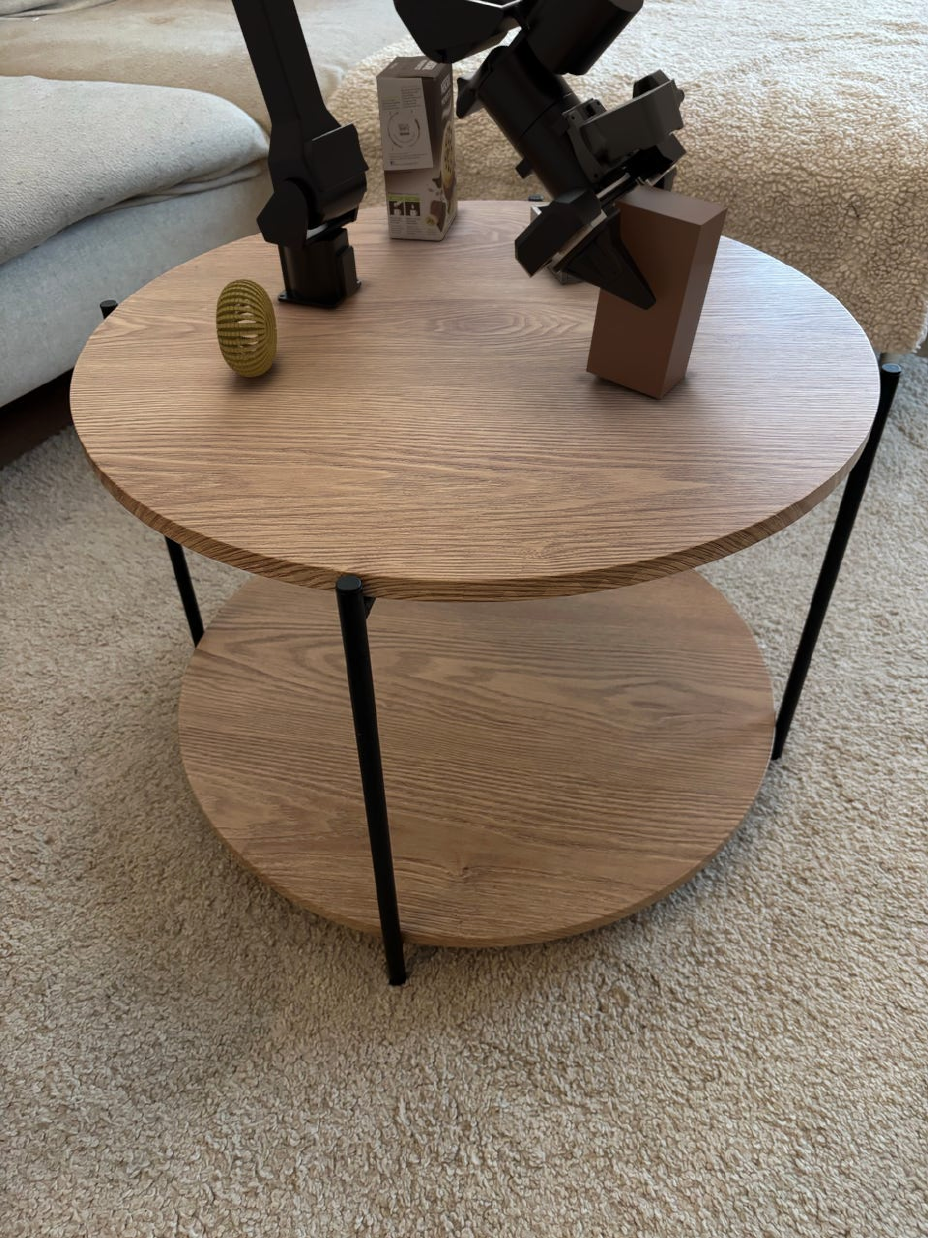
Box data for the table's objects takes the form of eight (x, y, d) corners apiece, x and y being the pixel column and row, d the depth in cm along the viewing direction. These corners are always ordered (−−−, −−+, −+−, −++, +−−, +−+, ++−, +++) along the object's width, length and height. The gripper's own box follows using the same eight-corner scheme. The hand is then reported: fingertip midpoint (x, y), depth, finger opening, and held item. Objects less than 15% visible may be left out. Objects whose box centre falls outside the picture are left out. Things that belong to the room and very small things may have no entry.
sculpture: (243, 350, 83) (224, 263, 78) (286, 349, 83) (270, 262, 77) (224, 394, 77) (202, 305, 72) (270, 393, 77) (252, 303, 72)
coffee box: (443, 241, 100) (435, 76, 89) (387, 239, 101) (372, 75, 90) (460, 211, 106) (454, 53, 95) (407, 209, 108) (395, 53, 96)
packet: (585, 371, 77) (614, 200, 67) (612, 350, 80) (644, 183, 70) (659, 399, 74) (701, 225, 65) (685, 376, 77) (728, 206, 68)
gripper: (550, 68, 56) (700, 272, 59) (672, 10, 67) (794, 184, 70) (454, 187, 65) (588, 360, 67) (576, 118, 76) (687, 270, 79)
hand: (669, 290), depth 71 cm, fingers closed on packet, 6 cm apart
